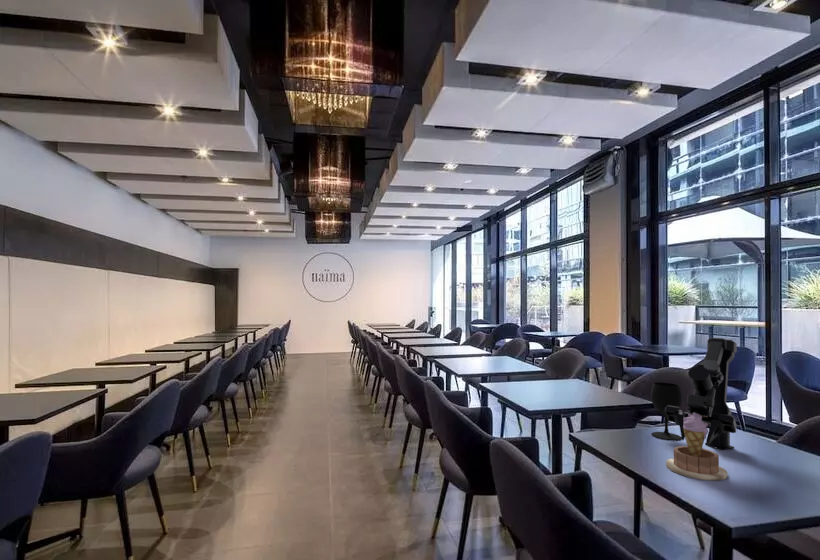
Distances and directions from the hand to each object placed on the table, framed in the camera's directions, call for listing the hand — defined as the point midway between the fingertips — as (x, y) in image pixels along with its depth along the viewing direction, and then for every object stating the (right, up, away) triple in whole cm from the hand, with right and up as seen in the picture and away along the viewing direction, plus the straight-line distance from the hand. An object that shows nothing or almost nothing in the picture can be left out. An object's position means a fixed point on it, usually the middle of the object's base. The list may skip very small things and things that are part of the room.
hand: (694, 441), depth 139 cm
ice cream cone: (+1, -7, +1) cm, 7 cm away
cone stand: (+1, -9, 0) cm, 9 cm away
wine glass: (+11, -11, +35) cm, 39 cm away
